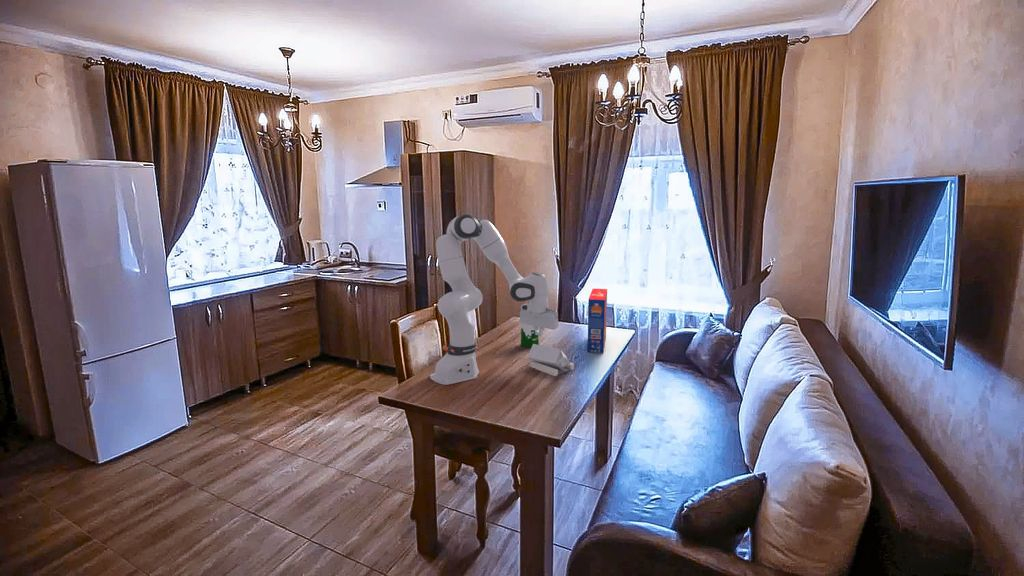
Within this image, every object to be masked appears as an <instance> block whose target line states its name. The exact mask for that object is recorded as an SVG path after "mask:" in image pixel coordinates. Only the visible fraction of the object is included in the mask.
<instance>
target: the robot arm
mask: <svg viewBox="0 0 1024 576" xmlns="http://www.w3.org/2000/svg"><path fill="white" fill-rule="evenodd" d="M470 239H472V240H474V242H476V243H477V245H478V247H479V248H480V251H482V253H483V255H484V256H485V257H486V258H487V259H488V260H489V261H490V262H492V263H493V264H495V265H496V266H497V267H499V269H500V271H501V272H502V274H503V275H504V277H505V279H506V281H507V284H508V290H509V294H510V297H511V298H512V299H513V300H515V301H516V302H526V301H529V302H527V303H523V304H521V305H520V309H521V310H520V312H519V322H520V324H521V323H522V324H527V325H532V326H533V328H534V330H535V335H538V337H539V336H540V337H542V336H543V332H544V330H545V329H549V330H556V329H558V328H559V323H560V322H559V313H558V311H557V310H556V309H553V308H549V297H548V294H549V280H548V277H547V276H546V274H544V273H541V272H531V273H530V274H529V275H527V276H526V277H524V276H522V275H521V274H520V273H519V271H518V270H517V269H516V267H515V266H514V264H513V262H512V261H511V259H510V256H509V251H508V247H507V244H506V242H505V240H504V238H503V237H502V235H501V234H500V232H499V230H498V229H497V228H496V227H495V226H494V225H493V223H492V222H491V221H490V220H489V219H482V220H478V219H477V218H475V217H474V216H472V215H470V214H466V213H465V214H462V215H458V216H455V217H454V218H453V219H451V220H450V221H448V223H447V225H446V229H445V232H444V234H442V235H440V236H439V237H438V238H437V240H436V241H435V246H436V247H435V248H436V256H437V257H436V258H437V261H438V265H439V270H440V274H441V277H442V280H443V281H444V282H446V283H447V284H448V285H449V286H450V288H451V291H450V292H447V293H446V294H444V295H443V296H441V297H440V298H439V300H438V302H437V309H438V312H439V313H440V315H441V316H442V317H444V318H445V320H446V322H447V326H448V329H449V331H448V332H449V344H448V346H447V345H443V346H442V350H443V351H446V353H445V354H444V355H443V357H441V359H439V361H438V362H436V364H435V368H434V372H433V373H431V374H430V375H429V379H430V380H432V381H433V382H435V383H437V384H440V385H445V386H448V385H454V384H456V383H457V384H458V383H462V382H466V381H471V380H475V379H477V378H478V374H479V373H480V370H479V368H478V364H477V358H476V351H477V348H476V347H477V346H476V342H475V341H476V340H475V326H474V324H472V323H471V322H470V320H469V317H468V313H469V312H471V311H474V310H476V309H477V308H478V307H480V306H481V305H482V303H483V300H484V299H483V298H484V297H483V293H482V291H481V290H480V289H479V288H478V287H477V286H475V284H474V283H473V282H472V280H471V278H470V276H469V273H468V272H467V268H466V263H465V260H464V259H465V258H464V257H463V256H464V255H463V252H462V243H463V242H465V241H468V240H470ZM537 327H538V328H537Z"/></svg>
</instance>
